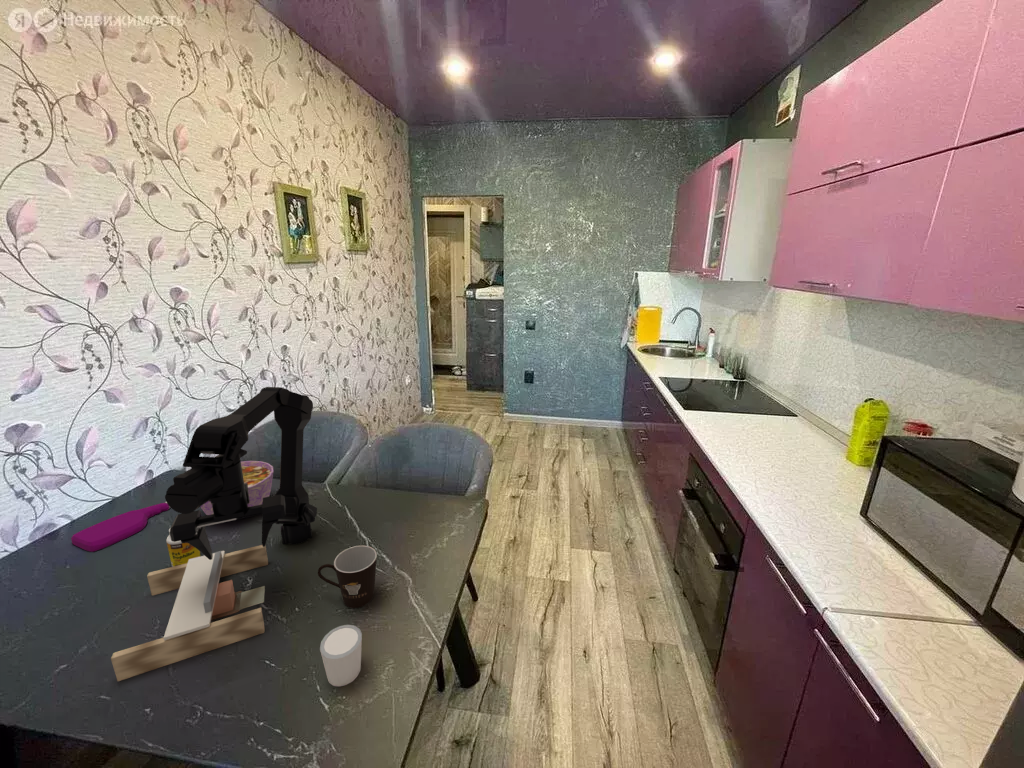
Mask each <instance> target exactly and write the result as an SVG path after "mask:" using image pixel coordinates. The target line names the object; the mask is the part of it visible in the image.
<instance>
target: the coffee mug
mask: <svg viewBox="0 0 1024 768" xmlns="http://www.w3.org/2000/svg"><path fill="white" fill-rule="evenodd" d="M377 556H378V555H377V551H376V550H375V548H373V547H371V546H369V545H355V546H352V547H349V548H346V549H344V550H342V551H340V553H338V554H337V556H336V557H335V559H334V560H333V564H330V563H326V564H323V565H321V566H319V568H318V569H317V576H318V577H319V578H320V579H321V580H323V581H324V582H326V583H328V584H329V585H331V586H334V587H336V588H339V590H340V593H341V597H342V602H343V604H344V606H346V607H347V608H350V609H359V608H362V607H365V606H366V605H368V604H369V603H371V601H372V600H373V599H374V597H375V588H376V587H375V585H376V573H377V572H376V571H377V558H378V557H377ZM325 568H330V569H332V570H333V571H334V572H335V574H336V578H337V581H338V583H337V582H335V581H332V580H330V579H328V578H326V576H323V574H322V573H321V572H322V570H323V569H325Z"/></svg>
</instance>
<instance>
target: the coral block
mask: <svg viewBox="0 0 1024 768" xmlns="http://www.w3.org/2000/svg"><path fill="white" fill-rule="evenodd" d="M235 592H236V591H235V588H234V582H233V579H230V580H226V581H223V582H219V583H218V588H217V593H216V598H215V603H214V608H213V613H212V616H214V615H217V614H221V613H224V612H227V611H231V610H233V607H234V600H235Z"/></svg>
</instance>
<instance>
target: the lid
mask: <svg viewBox="0 0 1024 768" xmlns="http://www.w3.org/2000/svg"><path fill="white" fill-rule="evenodd" d="M225 552H226V551H225V550H219V551H215V552H212V555H213V557H212V559H211V560H209V559H208V558H207V557H206V556H205V555H204V554H203V555H201V556H200V557H196V558H192V559H189V560H188V563H187V567H186V570H185V573H184V576H183V579H182V582H181V585H180V588H179V589H178V592H177V594H176V597H175V601H174V604H173V608H172V610H171V614H170V617H169V619H168V624H167V626H166V628H165V632H164V636H163V637H164V641H165V640H168V639H171V638H174V637H177V636H181V635H184V634H187V633H190V632H193V631H197V630H200V629H203V628H206V627H210V623H212V620H211V618H212V613H213V608H214V603H215V598H216V593H217V588H218V583H220V578H221V577H220V574H221V569H222V564H223V559H224V554H226V553H225Z"/></svg>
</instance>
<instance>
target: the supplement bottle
mask: <svg viewBox="0 0 1024 768" xmlns="http://www.w3.org/2000/svg"><path fill="white" fill-rule="evenodd" d="M168 533H169V535H168V536H167V538H166V546H167V550H168V551H167V552H168V555H169V558H170V559H169V560H170V563H171V564H170V565H171V567H174V566H178V565H182V564H186V563H188V560H189V559H192V558H196V557H200V556H202V553H201V552H200V551H199V550H198V549H196V548H195V547H193V546H192V545H190V544H189V543H181V540H180V541H176V542H174V541H171V536H170V528H169V529H168Z"/></svg>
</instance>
